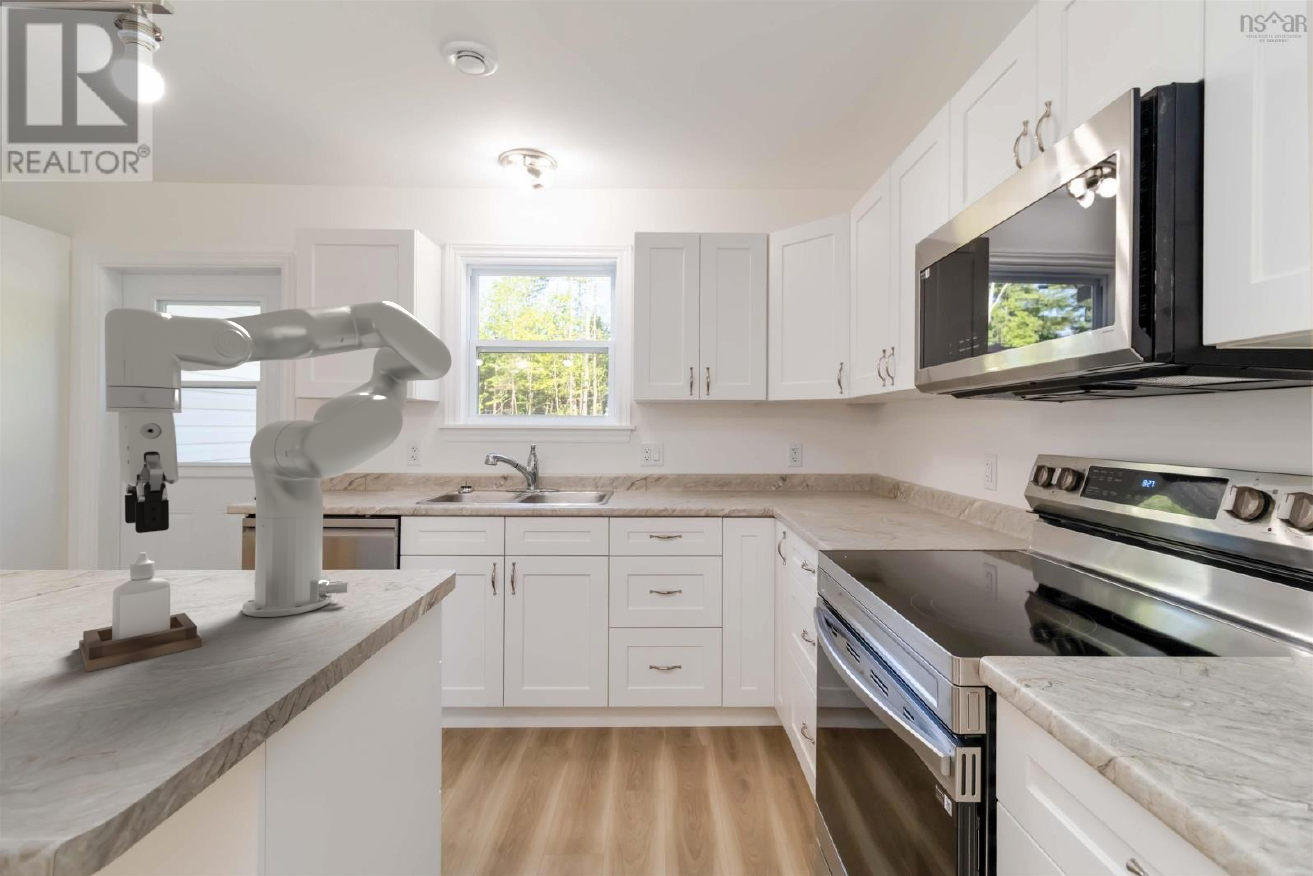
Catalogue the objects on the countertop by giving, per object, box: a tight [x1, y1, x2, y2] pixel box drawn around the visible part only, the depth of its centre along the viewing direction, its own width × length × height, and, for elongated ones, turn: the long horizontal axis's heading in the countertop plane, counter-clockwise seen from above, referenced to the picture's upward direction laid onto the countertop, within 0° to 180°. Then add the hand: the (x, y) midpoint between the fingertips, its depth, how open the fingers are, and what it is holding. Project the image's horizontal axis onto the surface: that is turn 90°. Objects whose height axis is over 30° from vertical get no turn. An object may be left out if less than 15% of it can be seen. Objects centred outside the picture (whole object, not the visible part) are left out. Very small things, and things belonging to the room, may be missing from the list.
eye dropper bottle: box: [111, 551, 171, 641], centre depth 74 cm, size 4×6×12 cm
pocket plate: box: [78, 612, 203, 673], centre depth 74 cm, size 11×11×2 cm
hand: (146, 526), depth 74 cm, fingers open, 9 cm apart
